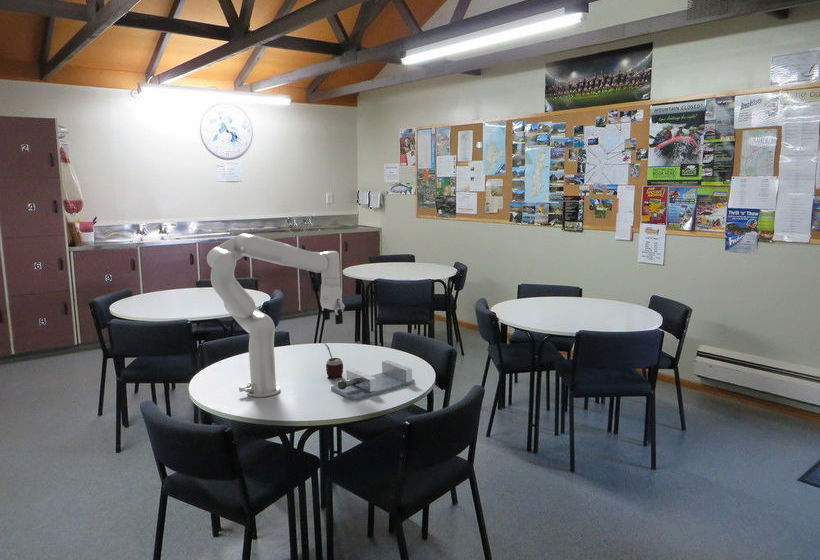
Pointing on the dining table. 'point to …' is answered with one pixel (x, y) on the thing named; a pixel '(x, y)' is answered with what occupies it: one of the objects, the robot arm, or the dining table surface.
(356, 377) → the vise jaw
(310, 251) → the robot arm
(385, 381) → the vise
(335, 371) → the mate gourd
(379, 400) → the dining table surface
